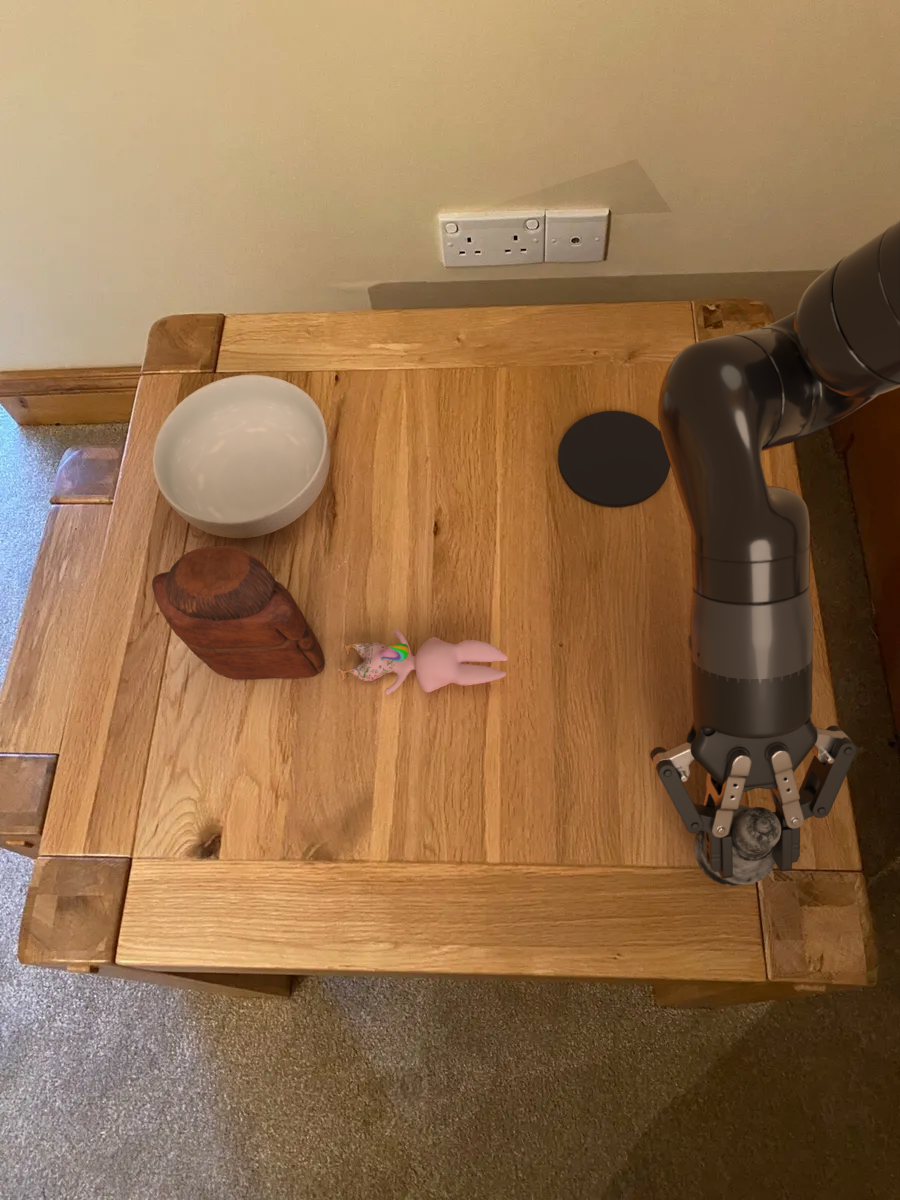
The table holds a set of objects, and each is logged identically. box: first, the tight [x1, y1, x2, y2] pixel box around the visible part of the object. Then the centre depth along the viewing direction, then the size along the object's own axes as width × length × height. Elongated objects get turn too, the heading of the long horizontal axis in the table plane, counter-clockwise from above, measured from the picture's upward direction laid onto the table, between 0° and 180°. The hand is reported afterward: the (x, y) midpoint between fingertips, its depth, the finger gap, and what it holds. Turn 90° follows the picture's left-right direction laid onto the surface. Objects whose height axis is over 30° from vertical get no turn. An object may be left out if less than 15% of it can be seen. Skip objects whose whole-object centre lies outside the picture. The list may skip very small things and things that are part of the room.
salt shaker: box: [693, 804, 781, 887], centre depth 64 cm, size 6×6×12 cm
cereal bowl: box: [152, 374, 332, 539], centre depth 86 cm, size 17×17×7 cm
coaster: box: [557, 410, 671, 508], centre depth 88 cm, size 11×11×1 cm
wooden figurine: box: [151, 545, 326, 681], centre depth 74 cm, size 12×6×18 cm, turn 89°
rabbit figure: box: [337, 628, 509, 696], centre depth 78 cm, size 6×6×15 cm
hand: (752, 866), depth 63 cm, fingers closed on salt shaker, 3 cm apart
